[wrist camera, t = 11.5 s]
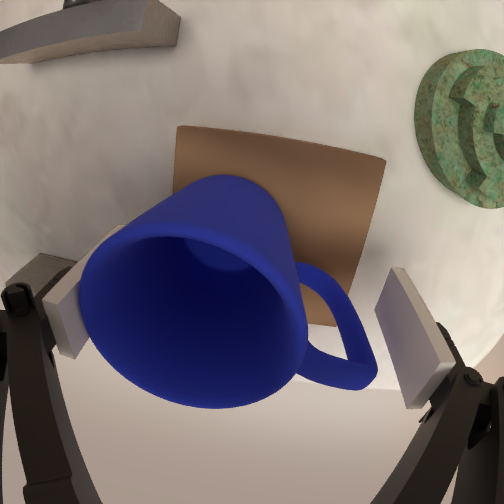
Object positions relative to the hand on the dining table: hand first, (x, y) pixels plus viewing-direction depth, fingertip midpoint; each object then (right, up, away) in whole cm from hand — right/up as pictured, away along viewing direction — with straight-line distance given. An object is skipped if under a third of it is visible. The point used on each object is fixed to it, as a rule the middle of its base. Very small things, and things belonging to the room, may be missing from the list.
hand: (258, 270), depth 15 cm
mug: (0, +2, +4) cm, 5 cm away
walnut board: (+1, +2, +5) cm, 5 cm away
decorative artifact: (+14, +9, 0) cm, 17 cm away
